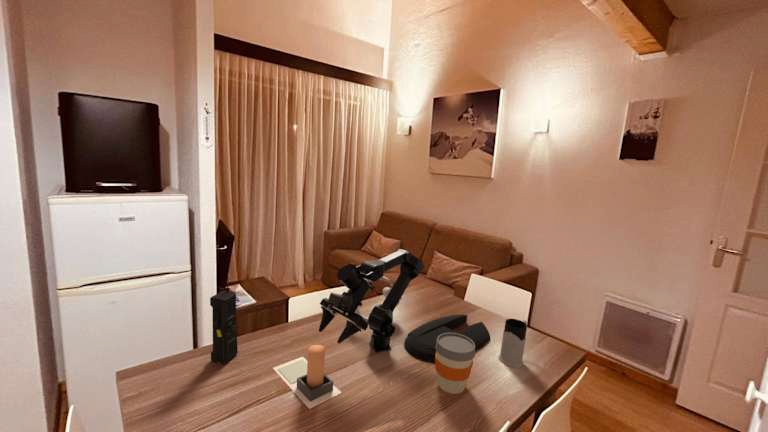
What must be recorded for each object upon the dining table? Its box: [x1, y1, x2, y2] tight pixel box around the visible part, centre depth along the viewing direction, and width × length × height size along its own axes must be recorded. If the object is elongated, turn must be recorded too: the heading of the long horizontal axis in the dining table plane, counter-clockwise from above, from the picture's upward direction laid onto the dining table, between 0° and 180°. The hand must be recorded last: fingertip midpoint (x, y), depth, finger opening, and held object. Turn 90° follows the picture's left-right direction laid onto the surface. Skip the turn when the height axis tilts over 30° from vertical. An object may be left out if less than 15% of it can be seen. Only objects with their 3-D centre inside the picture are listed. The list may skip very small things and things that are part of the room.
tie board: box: [272, 356, 342, 410], centre depth 106 cm, size 23×11×4 cm, turn 43°
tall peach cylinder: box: [307, 344, 326, 390], centre depth 102 cm, size 5×5×13 cm
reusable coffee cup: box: [434, 333, 476, 395], centre depth 110 cm, size 13×13×15 cm
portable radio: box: [209, 284, 239, 365], centre depth 114 cm, size 8×6×25 cm
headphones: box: [354, 275, 403, 321], centre depth 149 cm, size 21×9×22 cm
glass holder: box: [498, 318, 528, 368], centre depth 129 cm, size 9×14×15 cm, turn 135°
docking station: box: [403, 314, 491, 363], centre depth 139 cm, size 25×41×5 cm, turn 132°
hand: (328, 337), depth 109 cm, fingers open, 9 cm apart
